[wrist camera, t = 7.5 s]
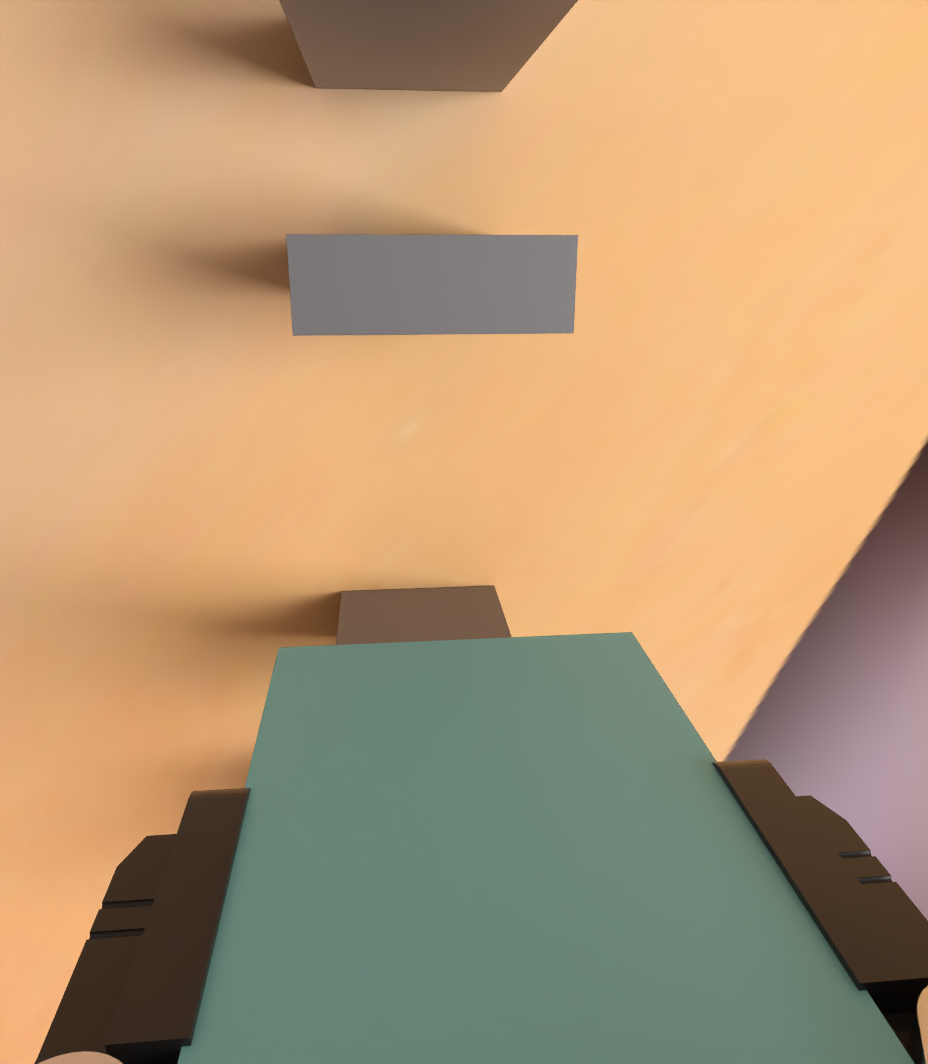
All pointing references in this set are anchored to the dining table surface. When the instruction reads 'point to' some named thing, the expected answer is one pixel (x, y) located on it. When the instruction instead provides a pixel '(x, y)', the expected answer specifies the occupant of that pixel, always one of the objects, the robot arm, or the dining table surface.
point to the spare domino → (508, 876)
